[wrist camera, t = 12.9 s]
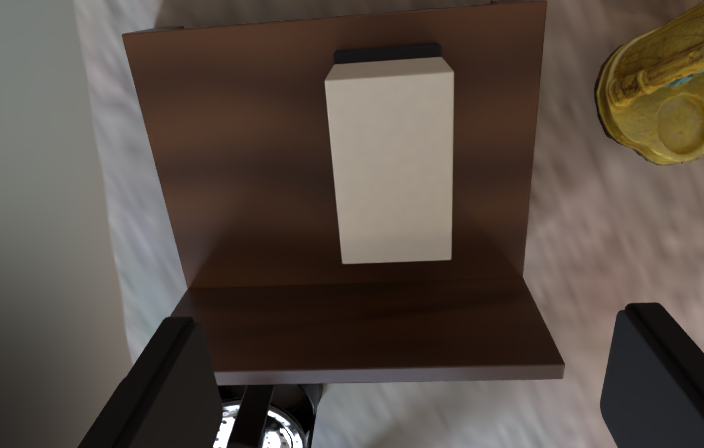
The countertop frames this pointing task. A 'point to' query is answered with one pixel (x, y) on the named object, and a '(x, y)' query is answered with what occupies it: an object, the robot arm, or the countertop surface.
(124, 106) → the countertop surface
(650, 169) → the countertop surface
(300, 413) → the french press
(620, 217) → the countertop surface
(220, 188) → the shoe shelf
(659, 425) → the robot arm
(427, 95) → the beige cuboid
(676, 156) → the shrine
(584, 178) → the countertop surface
